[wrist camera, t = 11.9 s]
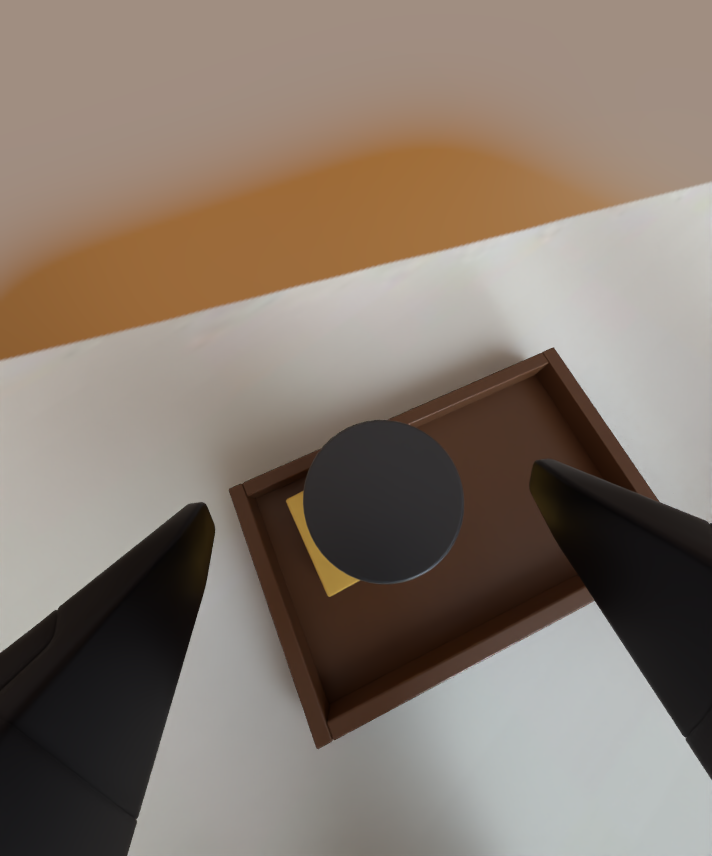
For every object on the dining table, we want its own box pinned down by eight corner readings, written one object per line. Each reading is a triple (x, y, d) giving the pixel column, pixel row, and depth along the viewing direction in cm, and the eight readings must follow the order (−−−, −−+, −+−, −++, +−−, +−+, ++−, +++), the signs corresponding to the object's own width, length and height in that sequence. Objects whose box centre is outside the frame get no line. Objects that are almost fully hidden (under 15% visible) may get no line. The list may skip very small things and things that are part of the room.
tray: (533, 364, 20) (553, 346, 18) (653, 546, 17) (692, 549, 15) (242, 493, 18) (227, 488, 16) (322, 721, 15) (316, 751, 13)
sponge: (398, 450, 18) (464, 326, 7) (441, 528, 17) (605, 533, 6) (294, 503, 17) (176, 462, 6) (332, 587, 16) (272, 728, 5)
